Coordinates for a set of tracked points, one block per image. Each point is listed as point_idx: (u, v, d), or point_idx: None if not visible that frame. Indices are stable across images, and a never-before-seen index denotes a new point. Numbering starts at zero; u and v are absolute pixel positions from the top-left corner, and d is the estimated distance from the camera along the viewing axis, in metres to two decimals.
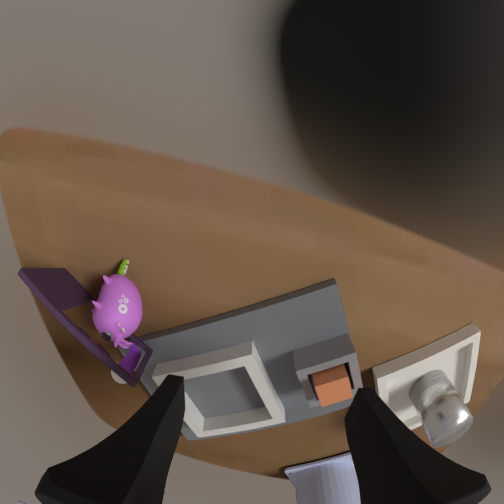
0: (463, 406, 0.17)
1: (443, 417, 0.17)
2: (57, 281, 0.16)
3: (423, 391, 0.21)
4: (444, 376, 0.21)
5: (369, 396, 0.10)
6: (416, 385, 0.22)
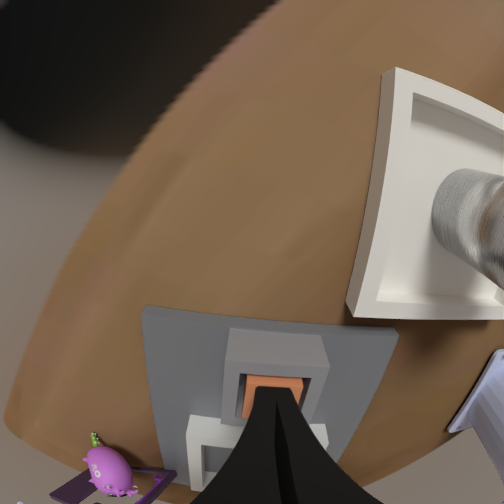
0: None
1: None
2: (82, 480, 0.16)
3: (451, 241, 0.10)
4: (458, 179, 0.10)
5: (282, 396, 0.10)
6: (440, 239, 0.11)
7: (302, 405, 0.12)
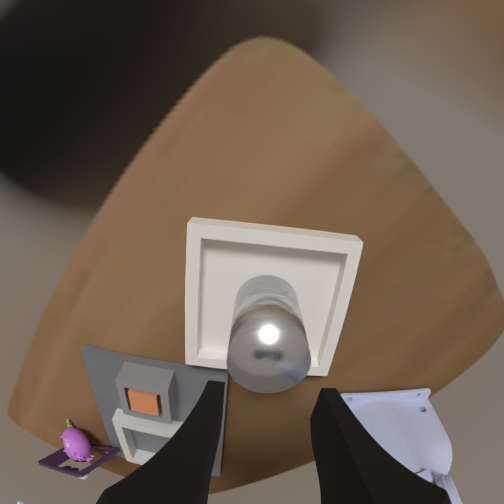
0: (240, 326, 0.14)
1: None
2: (61, 452, 0.24)
3: None
4: (244, 288, 0.18)
5: (331, 397, 0.10)
6: None
7: (162, 409, 0.20)
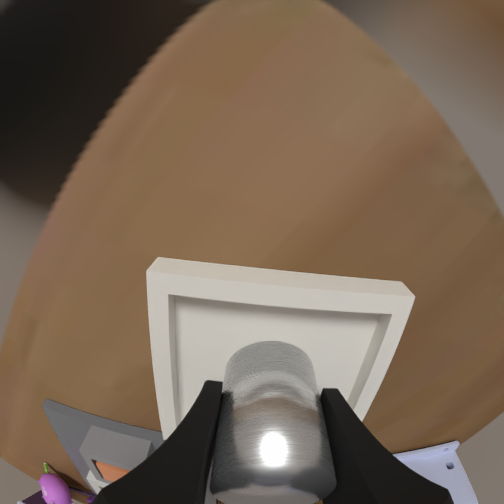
0: (229, 442, 0.08)
1: None
2: (42, 495, 0.18)
3: None
4: (237, 363, 0.12)
5: (333, 397, 0.10)
6: None
7: None
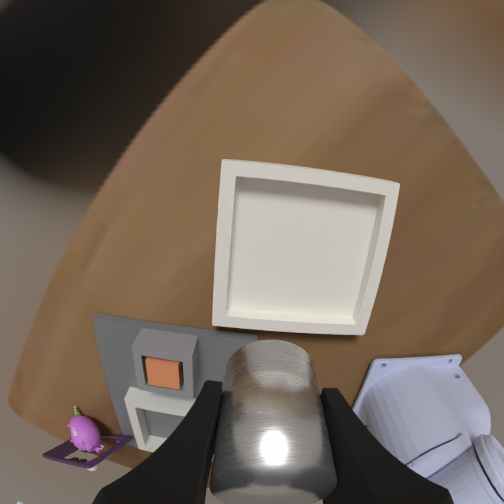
0: (230, 441, 0.08)
1: None
2: (67, 444, 0.23)
3: None
4: (238, 362, 0.12)
5: (333, 397, 0.10)
6: None
7: (184, 380, 0.19)
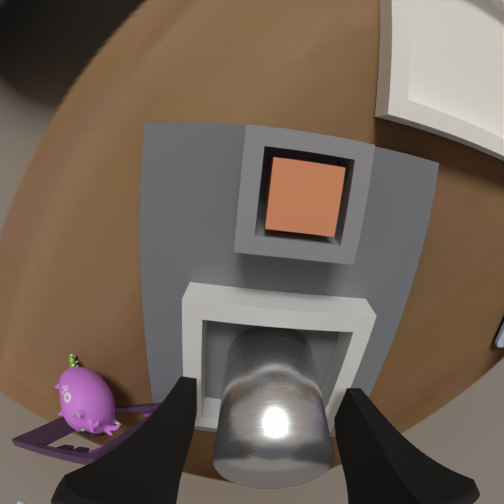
0: (235, 414, 0.09)
1: None
2: (56, 424, 0.14)
3: None
4: (242, 343, 0.13)
5: (357, 396, 0.10)
6: None
7: (345, 214, 0.09)
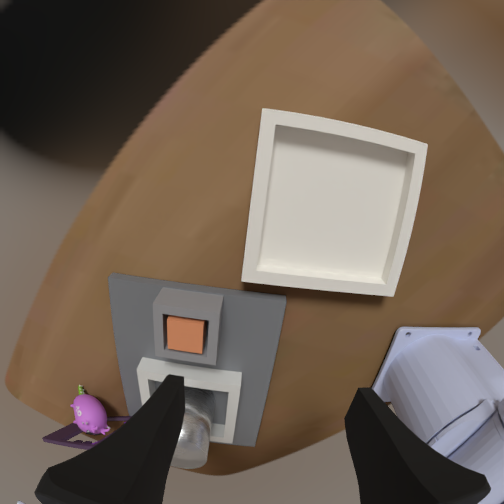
0: None
1: None
2: (70, 427, 0.22)
3: None
4: None
5: (369, 396, 0.10)
6: None
7: (207, 343, 0.18)
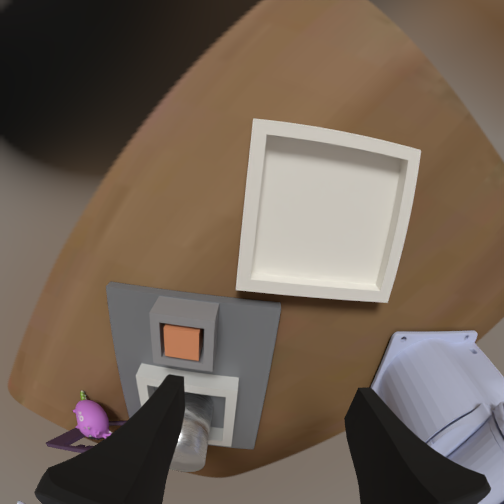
0: None
1: None
2: (73, 432, 0.23)
3: None
4: None
5: (369, 396, 0.10)
6: None
7: (204, 350, 0.18)
